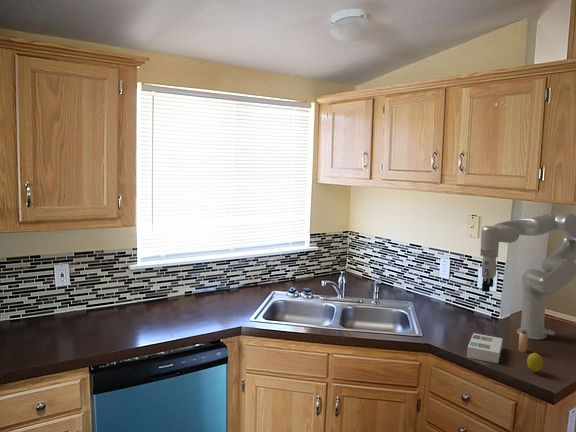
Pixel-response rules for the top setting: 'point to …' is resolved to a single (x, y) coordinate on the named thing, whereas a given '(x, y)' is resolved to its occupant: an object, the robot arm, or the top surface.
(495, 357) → the socket block
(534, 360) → the lemon
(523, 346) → the light wood cylinder
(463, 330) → the top surface
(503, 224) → the robot arm
